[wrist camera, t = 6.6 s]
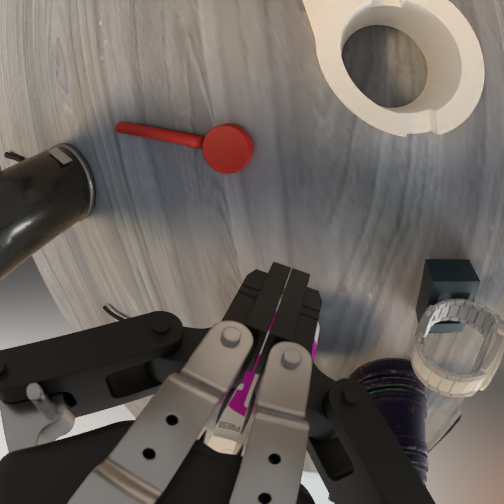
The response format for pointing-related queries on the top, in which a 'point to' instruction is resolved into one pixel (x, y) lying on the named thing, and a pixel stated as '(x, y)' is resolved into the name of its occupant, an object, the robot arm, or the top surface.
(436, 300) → the watch
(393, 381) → the storage jar
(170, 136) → the red spoon
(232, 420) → the supplement can
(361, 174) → the top surface
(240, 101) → the top surface
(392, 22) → the bracket
